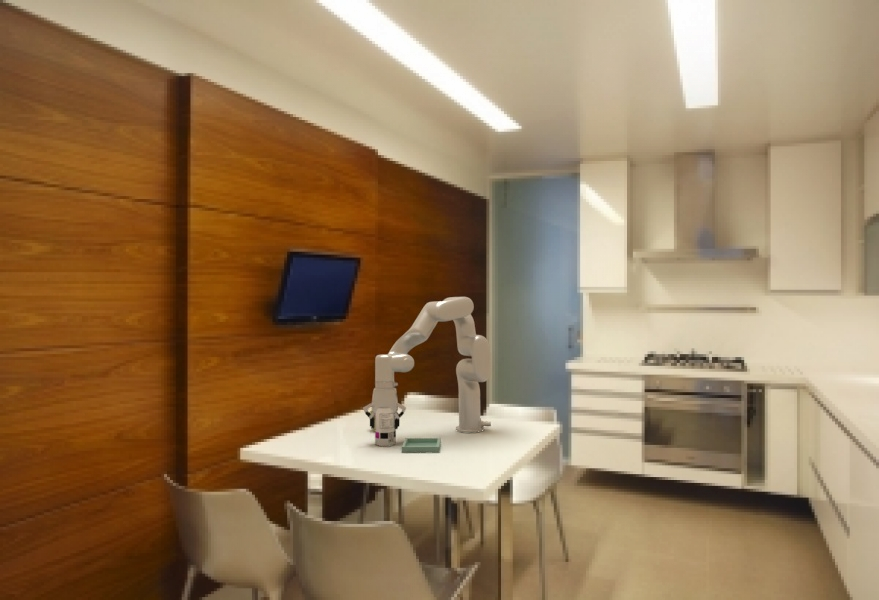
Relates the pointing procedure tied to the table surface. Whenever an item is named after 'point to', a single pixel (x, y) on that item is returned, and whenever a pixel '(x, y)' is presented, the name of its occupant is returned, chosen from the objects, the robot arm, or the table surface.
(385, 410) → the supplement can
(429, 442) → the tray
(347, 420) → the table surface
